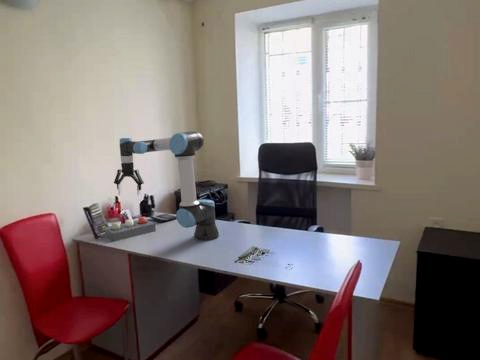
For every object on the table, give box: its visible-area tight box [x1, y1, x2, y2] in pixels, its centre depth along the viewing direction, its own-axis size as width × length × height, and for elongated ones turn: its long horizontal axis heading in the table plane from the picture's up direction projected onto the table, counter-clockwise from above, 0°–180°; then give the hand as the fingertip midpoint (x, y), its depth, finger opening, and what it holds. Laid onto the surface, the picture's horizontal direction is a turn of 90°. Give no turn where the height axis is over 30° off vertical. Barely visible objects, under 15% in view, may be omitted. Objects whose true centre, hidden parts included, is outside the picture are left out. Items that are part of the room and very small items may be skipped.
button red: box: [137, 216, 147, 225], centre depth 248 cm, size 5×5×4 cm
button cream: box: [124, 218, 134, 228], centre depth 242 cm, size 5×5×4 cm
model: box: [234, 245, 273, 264], centre depth 193 cm, size 21×30×2 cm
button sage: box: [111, 222, 121, 231], centre depth 236 cm, size 5×5×4 cm
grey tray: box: [103, 219, 157, 242], centre depth 242 cm, size 16×28×5 cm, turn 132°
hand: (129, 194), depth 244 cm, fingers open, 13 cm apart
